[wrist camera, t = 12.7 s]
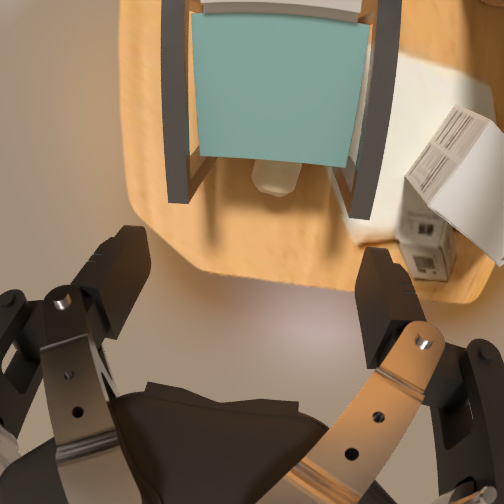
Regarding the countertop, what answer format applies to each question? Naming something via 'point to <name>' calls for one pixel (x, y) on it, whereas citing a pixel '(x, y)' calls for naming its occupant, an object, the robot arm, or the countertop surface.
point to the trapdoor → (278, 78)
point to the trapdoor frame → (349, 179)
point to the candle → (275, 176)
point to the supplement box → (465, 178)
